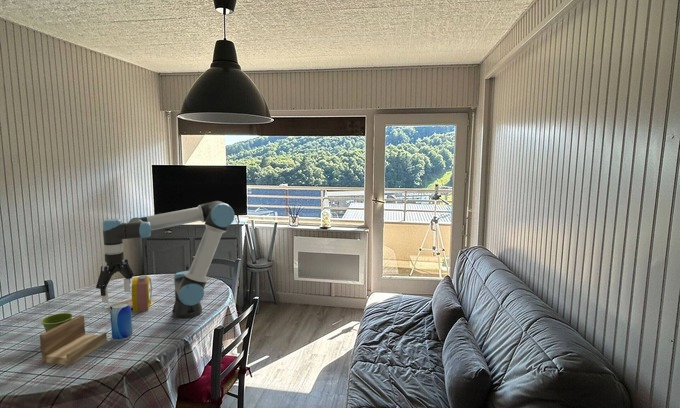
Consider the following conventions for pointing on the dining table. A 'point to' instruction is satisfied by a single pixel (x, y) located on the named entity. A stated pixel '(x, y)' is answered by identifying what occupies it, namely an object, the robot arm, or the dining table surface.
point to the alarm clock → (141, 293)
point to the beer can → (121, 321)
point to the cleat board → (69, 342)
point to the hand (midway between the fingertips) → (116, 296)
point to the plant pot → (55, 320)
